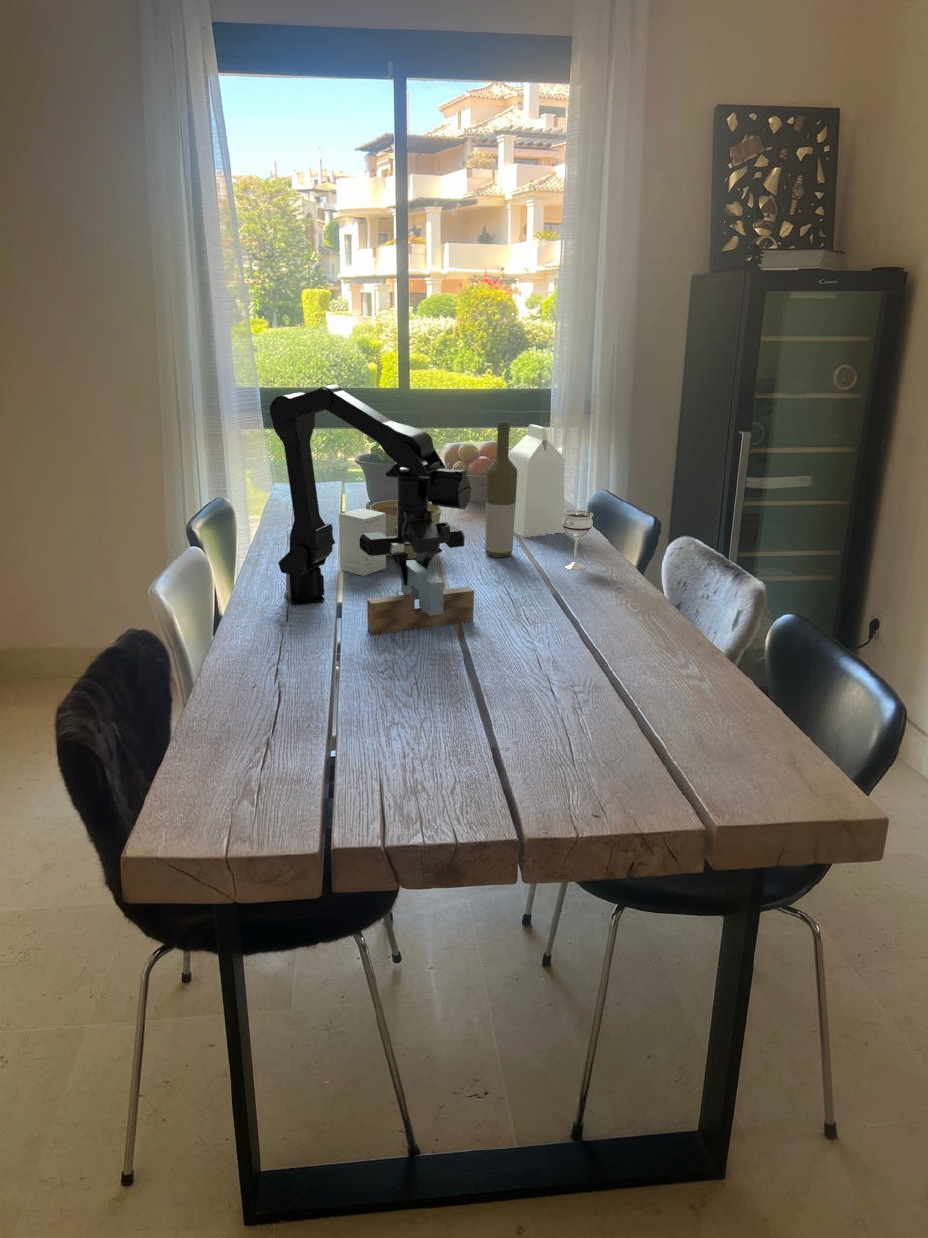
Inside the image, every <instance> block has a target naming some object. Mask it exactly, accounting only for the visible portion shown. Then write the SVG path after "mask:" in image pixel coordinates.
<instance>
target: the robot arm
mask: <svg viewBox="0 0 928 1238" xmlns="http://www.w3.org/2000/svg"><path fill="white" fill-rule="evenodd" d="M324 411H327V412H329V413H331V415H334V416H335V417H337V418H338V419H340V420H342V421H343V422H345V423H346V424H348V425H350V427H353V428H354V429H356V430H358V431H359V432H361V433H363V435H365V436H367V437H368V438H370V439H372V440H374V442H375V443H377V444H378V445H380V447H381V448H382V451H383V452H384V453H385V454H386V455H387V456H388V457H389V458H390V459H391V460H392V461H394V462H395V463H394V464H393V465H392V467H391V468H390V469H388V470H387V471H386V472H385V476H386V477H389V478H396V500H397V505H395V511H396V512H397V527H395V533H396V534H397V536H391V537H387V536H385V535H384V534H383V533H381V532H373V533H363V534H362V536H361V537H360V548H361V549H362V550H363V551H364V552H365V553H367V554H368V555H370V556H377V555H386V554H389V555H390V556H391V557H390V556H389V557H390V558H391V559H392V561H393V563H394V564H395V567H396V569H397V573H398V575H399V577H400V580H402V583H403V585H404V586H407V562H406V561H408V560H407V557H408V554H407V553H406V552H405V551H404V546H407V545H411V546H412V548H413V550H414V552H416V558H415V559H416V560H415V561H416V562H417V563H419V564H420V565H421V566H423V567H424V568H425V569H427V570H428V567H429V565H430V563H431V561H432V560H433V558H434V557H435V556H436V555H437V554H441V553H442V551H443V549H442V548H441V544H445V545H446V546H447V547H448V548H450V549H452V548H462V547H464V546H465V534H464V532H463V531H462V530H460V529H459V528H457V527H456V526H454V525H452V524H449V522H447V521H446V522H445V521H442V522H439V523H433V521H432V514H431V510H429V509H428V505H429V503H432V505H434V506H439V507H440V508H442V507H443V508H450V509H456V510H465V509H467V507H468V505H469V503H470V500H471V496H472V486H471V483H470V480H469V478H468V477H467V470H466V469H449V468H446V465H445V463H444V462H443V460H442V458H441V456H440V455H439V454H438V452H437V450H436V449H435V447H434V446H435V445H434V443H433V438H432V437H431V435H430V434H428V432H425V431H423V430H421V429H419V428H416V427H414V426H411V425H407V424H404V423H398V422H396V421H393V420H391V419H389V418H388V417H387V416H385V415H383V414H381V413H380V412H379V411H376V409H374V408H372V407H371V406H369V405H367V404H365V403H364V402H362V401H361V400H359V399H357V398H355V397H354V396H353V395H351V394H349V393H347V392H346V391H344V390H343V388H341V386H339V385H337V384H330V385H324V386H321V387H319V388H318V389H315V390H312V391H309V392H306V393H304V392H294V393H290V394H284V395H280V396H279V395H278V396H276V397H275V398H274V399H273V400H272V402H271V403H270V404H269V416H270V420H271V423H272V426H273V430H274V432H275V434H276V435H277V437H278V438H279V439H280V441H281V443H282V444H283V449H284V454H285V461H286V469H287V476H288V485H289V490H290V491H289V493H290V497H291V505H292V510H293V511H292V513H293V523H292V527H291V530H290V534H289V551H288V552H287V553H286V554H285V555H284V556H283V557H282V558H281V559H280V560H279V561H278V567H279V569H280V572H281V574H285V579H286V592H284V596H285V598H286V599H287V600H288V602H290V604H291V605H301V604H310V603H318V602H324V601H325V597H324V595H325V577H324V575H323V574H322V571H321V570H322V569H321V568H320V567H321V566H324V565H325V563H326V561H327V560H326V559H327V558H328V557H329V556H330V555H331V553H332V552H333V550H334V549H333V547H334V546H333V545H335V544H336V541H335V539H334V535H333V532H334V531H333V530H334V529H333V525H332V523H327V524H326V523H325V521H324V520H323V519H322V517H321V515H320V509H319V500H318V493H317V492H318V491H317V486H316V477H315V470H314V461H313V454H312V448H311V447H312V446H311V440H312V437H313V435H312V434H313V432H314V429H315V426H316V425H315V424H316V422H315V421H316V414H318V413H321V412H324ZM424 463H425V464H424ZM386 556H387V555H386Z"/></svg>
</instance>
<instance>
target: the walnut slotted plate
mask: <svg viewBox="0 0 928 1238" xmlns="http://www.w3.org/2000/svg"><path fill="white" fill-rule="evenodd" d="M415 601H416V600H415V598H414V597H413V596H412V595H410V594H399V595H390V596H381V597H374V598H367V602H366V603H367V604H366V606H367V608H366V609H367V631H368V633H370V635H372V636H375V635H383V634H389V633H397V632H402V631H403V632H404V631H409V630H419V629H424V628H425V629H426V628H431V627H432V628H433V627H438V626H445V625H453V624H459V623H460V624H461V623H467V621H469V622H473V621H474V610H475V609H474V604H475V603H474V601H475V590H474V589H473V588H472V587H470V586H462V587H455V588H453V587H452V588H445V589H443V614H440V615H433V616H429V615H428V614H427V613H426V612H425V611H424V610H422V609H421V608H420V607H416V606H415V605H416V602H415Z"/></svg>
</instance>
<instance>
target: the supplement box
mask: <svg viewBox="0 0 928 1238" xmlns="http://www.w3.org/2000/svg"><path fill="white" fill-rule="evenodd" d="M373 532H381V533H383V534H384V535H385V536H386V513H382V512H378V511H373V510H370V509H367V508H358V509H354V510H350V511H346V512H341V513H338V536H339V538H338V540H339V541H338V542H339V570H341V571H344V572H347V573H351V574H355V575H357V576H362V577H365V576H367V575H369V574H374V573H376V572H378V571H381V570H385V569H386V567H387V565H386V564H387V562H386V561H387V560H386V559H387V555H377V556H370V555H368V554H367V553H365V552H364V551H363V550H362V549H361V548H360V537H361V536H362V534H363V533H373Z"/></svg>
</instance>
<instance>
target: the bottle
mask: <svg viewBox="0 0 928 1238" xmlns="http://www.w3.org/2000/svg"><path fill="white" fill-rule="evenodd" d="M510 426H511V424H510V423H508V422H498V423H497V426H496V427H497V428H496V431H497V434H496V435H497V440H496V457H495V459H494V460H493V461H492V462H491V463H490V464H489V466H488V467H487V468H486V471H485V532H484V533H485V535H484V536H485V538H484V539H485V540H484V541H485V542H484V543H485V544H484V545H485V546H484V550H485V553H486V555H489V556H492V557H497V558H503V557H508V556H510V555H512V553H513V549H514V521H515V505H516V489H517V469H516V467H515V466H514V465H513V464H512V462H511V461H510V460H509V457H508V454H509V452H510V451H509V449H510V448H509V446H510V445H509V443H510V430H511V429H510V428H511V427H510Z"/></svg>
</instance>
